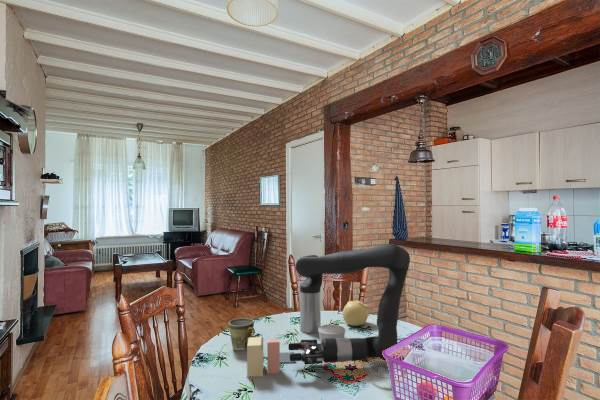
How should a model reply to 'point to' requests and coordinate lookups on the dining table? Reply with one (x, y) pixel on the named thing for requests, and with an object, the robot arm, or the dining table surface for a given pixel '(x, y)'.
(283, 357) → the felt pad
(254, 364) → the block
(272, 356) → the stub
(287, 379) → the dining table surface
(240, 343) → the ceramic cup
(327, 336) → the ramekin
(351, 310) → the round fruit
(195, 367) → the dining table surface
